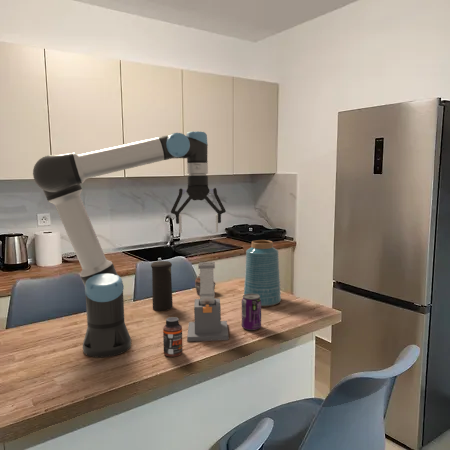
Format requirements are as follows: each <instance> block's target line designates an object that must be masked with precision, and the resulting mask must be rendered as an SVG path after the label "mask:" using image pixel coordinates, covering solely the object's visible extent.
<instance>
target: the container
mask: <svg viewBox="0 0 450 450" xmlns="http://www.w3.org/2000/svg"><path fill="white" fill-rule="evenodd" d="M172 266H173V264H172V262H170V261H168V260H167V261H166V260H159V261H157V260H156V261H154V262H152V263H151V264H150V267H151V275H152V276H151V279H152V280H151V284H152V292H151V293H152V310H153V311H155V312H165V311H169V310H171V309H173V304H174V303H173V288H172V287H173V286H172Z"/></svg>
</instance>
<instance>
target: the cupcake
mask: <svg viewBox="0 0 450 450" xmlns="http://www.w3.org/2000/svg"><path fill="white" fill-rule="evenodd" d="M194 281H195V282H194V287H195V290H196V295H197V296H198V297H200V273H198V275H196V279H195V280H194ZM215 287H216V282H215V281H214V290H215V289H216V288H215Z"/></svg>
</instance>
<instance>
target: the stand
mask: <svg viewBox="0 0 450 450" xmlns="http://www.w3.org/2000/svg"><path fill="white" fill-rule="evenodd" d="M221 308H222V307H221V300H220V298H215V305H209V304H206V306H200V298H194V306H193V310H194V311H193V312H194V321H188V325H187V326H188V327H187V328H188V329H187V336H186V338H187V340H186V341H187V342H205V341H207V342H208V341H209V342H211V341H229V329H228V322H227V320H222V317H221Z"/></svg>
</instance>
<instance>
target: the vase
mask: <svg viewBox="0 0 450 450" xmlns="http://www.w3.org/2000/svg"><path fill="white" fill-rule="evenodd" d="M279 259H280V258H279V250H278V249H277V248H275V247H274V242H273V241H272V240H266V239H258V240H252V241H251V247H249V248H248V249H246V251H245V265H244V266H245V267H244V268H245V270H244V272H245V273H244V284H243V290H244V291H243V295H245V294H258V295H259V296H260V300H261V308H266V307H267V308H268V307H272V306H276V305H278V304H279V303H280V302H281V301H282V295H281V294H282V292H281V290H282V289H281V279H280V277H281V276H280V260H279Z"/></svg>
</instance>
